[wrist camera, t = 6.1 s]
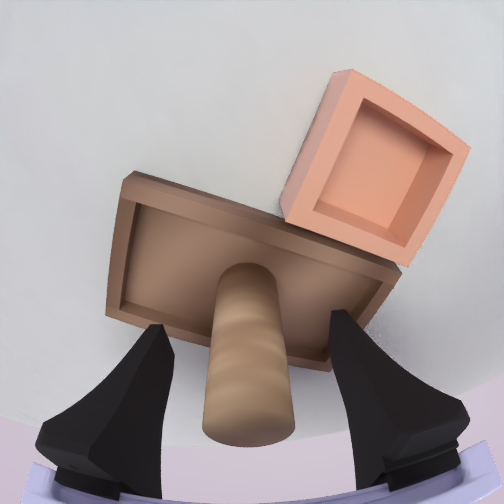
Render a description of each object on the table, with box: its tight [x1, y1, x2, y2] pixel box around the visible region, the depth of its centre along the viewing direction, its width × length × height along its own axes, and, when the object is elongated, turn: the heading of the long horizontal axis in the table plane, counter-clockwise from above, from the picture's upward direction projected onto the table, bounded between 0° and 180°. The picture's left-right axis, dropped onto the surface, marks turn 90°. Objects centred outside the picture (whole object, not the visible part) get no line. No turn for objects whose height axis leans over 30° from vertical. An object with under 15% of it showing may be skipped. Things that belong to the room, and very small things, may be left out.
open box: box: [279, 69, 471, 267], centre depth 12 cm, size 6×6×2 cm
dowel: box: [202, 262, 295, 447], centre depth 12 cm, size 3×3×8 cm
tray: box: [105, 171, 402, 372], centre depth 15 cm, size 14×8×2 cm, turn 70°
